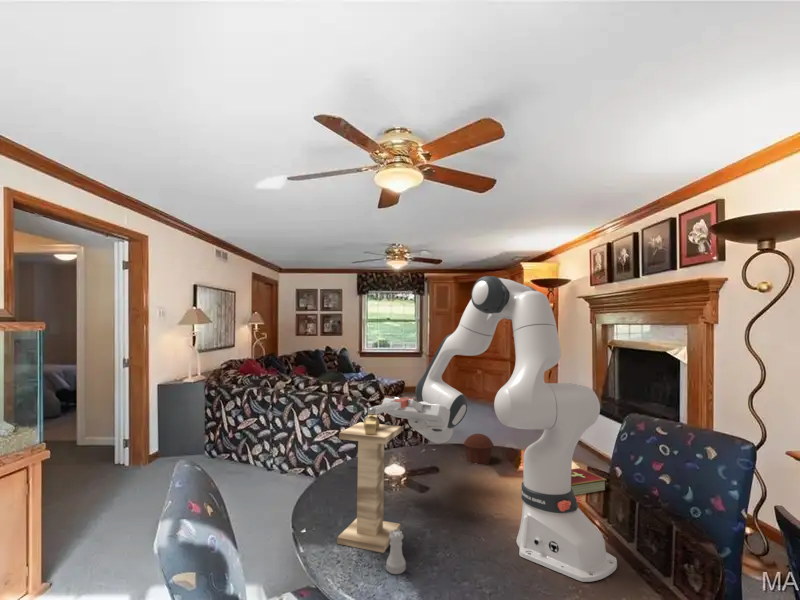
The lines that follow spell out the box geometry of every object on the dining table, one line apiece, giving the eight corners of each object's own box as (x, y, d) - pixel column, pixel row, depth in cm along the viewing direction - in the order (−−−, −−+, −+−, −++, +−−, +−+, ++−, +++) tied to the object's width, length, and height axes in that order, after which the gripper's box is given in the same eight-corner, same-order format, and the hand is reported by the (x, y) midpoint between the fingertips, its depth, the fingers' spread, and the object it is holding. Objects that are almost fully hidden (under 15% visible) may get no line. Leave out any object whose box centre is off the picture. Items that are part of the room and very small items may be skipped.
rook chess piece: (405, 563, 98) (405, 527, 99) (406, 575, 94) (406, 536, 94) (385, 563, 98) (385, 527, 98) (385, 575, 94) (386, 536, 94)
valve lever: (373, 416, 110) (373, 409, 110) (364, 414, 111) (364, 407, 112) (413, 404, 126) (413, 398, 126) (405, 403, 127) (405, 397, 127)
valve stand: (383, 552, 103) (385, 423, 104) (337, 543, 107) (339, 419, 108) (400, 529, 114) (401, 413, 115) (358, 522, 118) (359, 409, 119)
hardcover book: (529, 486, 146) (529, 473, 146) (579, 479, 154) (579, 466, 154) (554, 500, 135) (554, 486, 135) (606, 491, 142) (606, 478, 143)
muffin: (486, 467, 163) (486, 440, 163) (459, 462, 168) (459, 436, 169) (497, 459, 173) (497, 433, 173) (470, 454, 178) (471, 429, 179)
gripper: (396, 403, 141) (375, 386, 131) (455, 411, 130) (437, 393, 120) (391, 422, 138) (369, 407, 128) (450, 432, 127) (431, 416, 117)
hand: (402, 400), depth 124 cm, fingers open, 3 cm apart
